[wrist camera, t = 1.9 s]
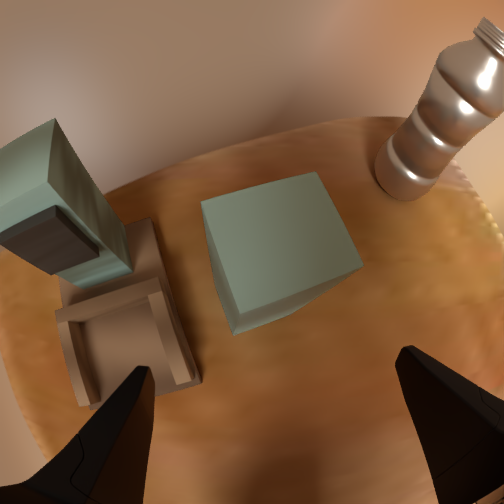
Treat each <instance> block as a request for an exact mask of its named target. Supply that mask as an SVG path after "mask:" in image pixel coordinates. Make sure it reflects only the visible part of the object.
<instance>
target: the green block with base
mask: <svg viewBox="0 0 504 504" xmlns="http://www.w3.org/2000/svg"><path fill="white" fill-rule="evenodd" d="M0 245H2V246H3V247H5V248H6V249H8V250H9V251H11V252H13V253H14V254H16V255H17V256H19V257H21V258H22V259H24V260H26V261H27V262H29V263H31V264H32V265H34V266H36V267H37V268H39V269H41V270H43V271H44V272H46V273H48V274H50V275H53V274H56V275H58V276H59V284H60V291H61V298H62V304H63V308H61V309H58V310H55V315H56V321H57V326H58V331H59V336H60V340H61V345H62V349H63V353H64V357H65V361H66V365H67V369H68V372H69V376H70V379H71V383H72V386H73V389H74V392H75V395H76V398H77V401H78V404H79V407H81V406H87V405H89V408H90V410H94V409H99V408H100V407H101V406H102V405H103V403H104V402H105V401H106V400H107V399H108V398H109V397H110V395H111V394H112V393H113V392H114V391H115V390H116V389H117V388H118V386H119V385H120V384H121V383H122V382H123V381H124V380H125V379H126V377H127V376H128V375H129V374H130V373H131V372H132V371H133V370H134V369H135V367H136V366H138V365H142V366H149V367H150V369H151V372H152V375H153V378H154V380H155V396H159V395H163V394H167V393H170V392H174V391H178V390H181V389H185V388H188V387H192V386H195V385H198V384H201V383H202V380H201V377H200V375H199V372H198V369H197V367H196V364H195V361H194V359H193V356H192V353H191V350H190V347H189V344H188V342H187V339H186V336H185V333H184V330H183V327H182V324H181V321H180V318H179V314H178V311H177V308H176V305H175V302H174V298H173V295H172V292H171V288H170V285H169V281H168V278H167V274H166V271H165V267H164V264H163V260H162V256H161V252H160V248H159V245H158V241H157V237H156V233H155V228H154V224H153V221H152V219H151V217H149V218H146V219H143V220H140V221H137V222H134V223H131V224H128V225H125V226H124V225H123V223H122V222H121V221H120V219H119V218H118V216H117V215H116V214H115V212H114V211H113V209H112V208H111V206H110V205H109V203H108V202H107V201H106V199H105V198H104V196H103V195H102V193H101V192H100V190H99V189H98V187H97V186H96V184H95V183H94V181H93V180H92V178H91V177H90V175H89V173H88V172H87V170H86V169H85V167H84V166H83V164H82V163H81V161H80V159H79V158H78V156H77V154H76V153H75V151H74V150H73V148H72V146H71V145H70V143H69V141H68V139H67V138H66V136H65V134H64V133H63V131H62V129H61V128H60V126H59V124H58V122H57V120H56V119H55V118H54V119H52V120H50V121H48V122H46V123H44V124H42V125H40V126H38V127H36V128H35V129H33V130H31V131H29V132H27V133H26V134H24V135H22V136H20V137H19V138H17V139H15V140H14V141H12V142H10V143H9V144H7V145H6V146H4V147H3V148H1V149H0Z"/></svg>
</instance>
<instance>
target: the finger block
mask: <svg viewBox="0 0 504 504" xmlns="http://www.w3.org/2000/svg"><path fill="white" fill-rule="evenodd" d="M201 208H202V214H203V220H204V226H205V232H206V238H207V244H208V250H209V256H210V261H211V267H212V272H213V278H214V283H215V287H216V289H217V292H218V295H219V298H220V301H221V304H222V306H223V309H224V312H225V315H226V317H227V320H228V323H229V326H230V328H231V331H232V334H233V336H234V335H236V334H239V333H242V332H245V331H248V330H251V329H253V328H256V327H259V326H261V325H264V324H267V323H269V322H272V321H275V320H277V319H280V318H283V317H285V316H288V315H290V314H292V313H294V312H295V311H297V310H298V309H300V308H302V307H303V306H305V305H306V304H308V303H309V302H311V301H313V300H314V299H316V298H317V297H319V296H320V295H322V294H323V293H325V292H326V291H328V290H329V289H331V288H332V287H334V286H335V285H337V284H338V283H340V282H341V281H343V280H344V279H346V278H347V277H349V276H350V275H351V274H353V273H354V272H356V271H357V270H359V269H360V268H362V267H363V266H364V264H363V262H362V260H361V258H360V255H359V253H358V251H357V249H356V247H355V245H354V243H353V241H352V239H351V237H350V235H349V233H348V231H347V229H346V227H345V225H344V223H343V221H342V219H341V217H340V215H339V213H338V211H337V209H336V207H335V205H334V203H333V201H332V200H331V198H330V196H329V194H328V192H327V190H326V189H325V187H324V185H323V183H322V181H321V180H320V178H319V176H318V174H317V172H316V171H315V172H310V173H306V174H302V175H298V176H293V177H289V178H285V179H281V180H277V181H273V182H269V183H265V184H261V185H258V186H254V187H250V188H246V189H243V190H239V191H235V192H232V193H228V194H225V195H221V196H218V197H214V198H211V199H207V200H204V201H201Z"/></svg>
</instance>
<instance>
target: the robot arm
mask: <svg viewBox="0 0 504 504" xmlns="http://www.w3.org/2000/svg"><path fill="white" fill-rule="evenodd" d="M395 368H396V371H397V374H398V378H399V381H400V385H401V388H402V392H403V395H404V399H405V402H406V404H407V407H408V409H409V412H410V415H411V417H412V420H413V423H414V426H415V428H416V431H417V434H418V437H419V440H420V442H421V445H422V448H423V451H424V454H425V457H426V461H427V464H428V467H429V470H430V473H431V477H432V480H433V484H434V488H435V491H436V495H437V499H438V503H439V504H473V503H476V504H504V401H503V400H501V399H500V398H498V397H496V396H494V395H492V394H490V393H489V392H487V391H485V390H484V389H482V388H481V387H478V386H477V385H476V384H474V383H473V382H471V381H469V380H468V379H466V378H465V377H463V376H461V375H460V374H458V373H457V372H455V371H453V370H452V369H450V368H448V367H447V366H445V365H444V364H442V363H440V362H439V361H437V360H436V359H434V358H432V357H431V356H429V355H428V354H426V353H424V352H423V351H421V350H419V349H418V348H416V347H415V346H413V345H409V346H405V347H403V348H402V349H401V351H400V353H399V355H398V357H397V360H396V362H395ZM154 401H155V380H154V378H153V375H152V372H151V369H150V367H149V366H142V365H138V366H136V367H135V369H134V370H133V371H132V372H131V373H130V374H129V375H128V376H127V377H126V379H125V380H124V381H123V382H122V383H121V384H120V385H119V386H118V388H117V389H116V390H115V391H114V392H113V393H112V394H111V395H110V397H109V398H108V399H107V400H106V401H105V402H104V403H103V405H102V406H101V407H100V408H99V409H98V410H97V411H96V412H95V414H94V415H93V416H92V417H91V418H90V419H89V420H88V422H87V423H86V424H85V425H84V426H83V427H82V428H81V429H80V431H79V432H78V433H77V434H76V435H75V436H74V437H73V438H72V440H71V441H70V442H69V443H68V444H67V445H66V446H65V447H64V448H63V449H62V450H61V451H60V452H59V453H58V454H57V455H56V456H55V457H54V458H53V459H52V460H51V461H49V462H48V463H47V464H46V465H45V466H44V467H43V468H41V469H40V470H39V471H38V472H37V473H36V474H34V475H33V476H32V477H31V478H29V479H28V480H26V481H24V482H22V483H19V484H14V485H8V486H2V487H0V504H143V497H144V488H145V480H146V472H147V465H148V457H149V451H150V444H151V438H152V431H153V422H154Z"/></svg>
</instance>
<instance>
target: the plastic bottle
mask: <svg viewBox="0 0 504 504" xmlns="http://www.w3.org/2000/svg"><path fill="white" fill-rule="evenodd" d="M473 33H474V34H475V35H476V36H475V37H474V39H473V40H469V41H464V42H459V43H456V44H453V45H451V46H448V47H447V48H446V49H444V50H443V51H442V52H441V53H440V54H439V56H438V58H437V60H436V64H435V65H434V68H433V70H432V73H431V76H430V78H429V81H428V83H427V85H426V88H425V90H424V92H423V94H422V95H421V97H420V99H419V101H418V104H417V105H416V106H415V108H414V110H413V111H412V113H411V114H410V116H409V117H408V118H407V119H406V121H405V122H404V123H403V124H402V125H401V127H400V128H399V129H398V130H397V131H396V133H394V134H393V135H392V136H390V137H389V138H388V139H387V141H386V142H385V143H384V144H383V145H382V146H381V147H380V149H379V151H378V154H377V156H376V159H375V163H374V167H375V174H376V178H377V180H378V182H379V184H380V185H381V187H382V188H383V189H384V190H385V191H386V192H387V193H388V194H389V195H391V196H392V197H394V198H396V199H399V200H404V201H414V200H416V199H419V198H420V197H422V196H424V195H425V194H427V193H428V192H429V191H430V189H431V188H432V187H433V185H434V184H435V183H436V181H437V179H438V177H439V175H440V174H441V173H442V171H443V170H444V169H445V167H446V166H447V165H448V164H449V162H450V161H451V160H452V158H453V157H454V156H455V155H456V153H457V152H458V151H460V149H461V148H462V147H463V146H464V145H466V144H467V143H468V142H469V141H470V140H471V139H472V138H473V137H474V136H475V135H476V134H477V133H479V132H480V131H481V130H482V129H484V128H485V127H486V126H487V125H489V124H490V123H491V122H492V121H494V120H495V118H497V117H498V116H499V115H500V114H501V113H502V112H503V111H504V33H503V32H502V31H501V30H500V29H499V28H498V27H496V26H495V25H494V24H493V23H491V22H490V21H489V20H487V19H486V18H485V17H483V18H482V20H481V21H480V23H479V25H478V27H477V28H475V29H474V31H473Z"/></svg>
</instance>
